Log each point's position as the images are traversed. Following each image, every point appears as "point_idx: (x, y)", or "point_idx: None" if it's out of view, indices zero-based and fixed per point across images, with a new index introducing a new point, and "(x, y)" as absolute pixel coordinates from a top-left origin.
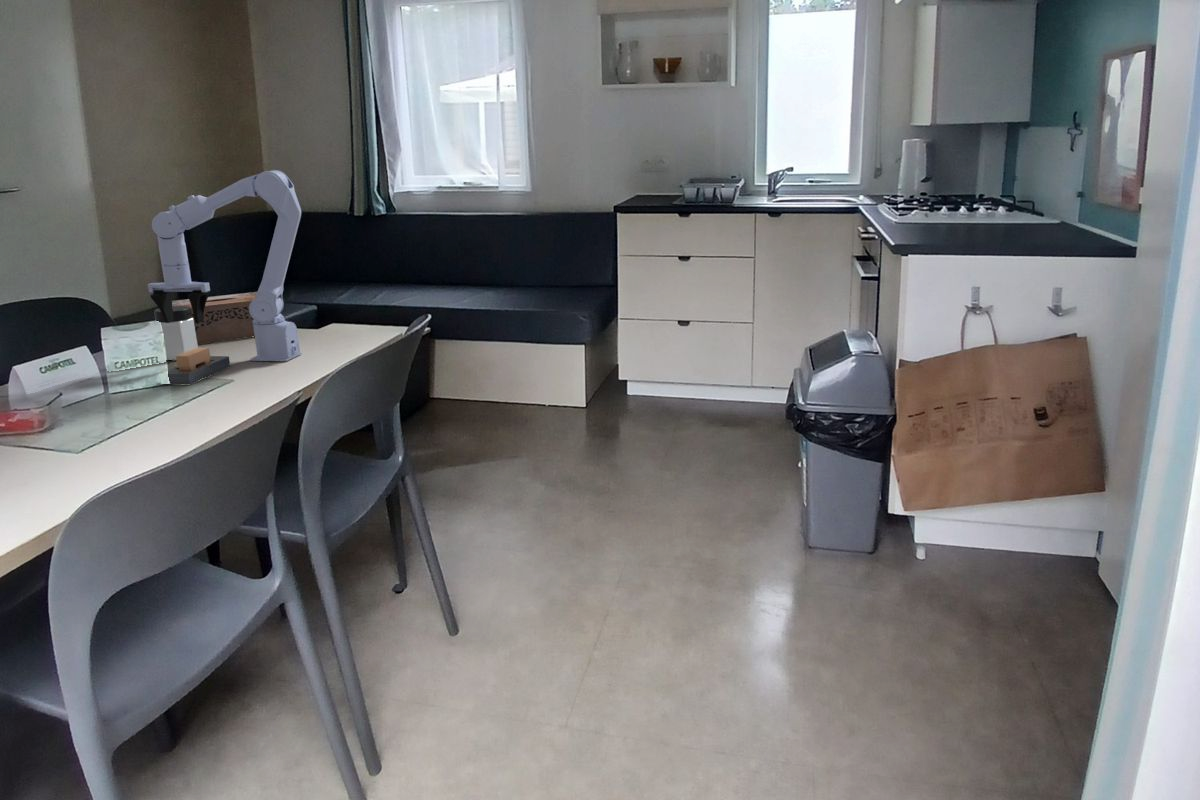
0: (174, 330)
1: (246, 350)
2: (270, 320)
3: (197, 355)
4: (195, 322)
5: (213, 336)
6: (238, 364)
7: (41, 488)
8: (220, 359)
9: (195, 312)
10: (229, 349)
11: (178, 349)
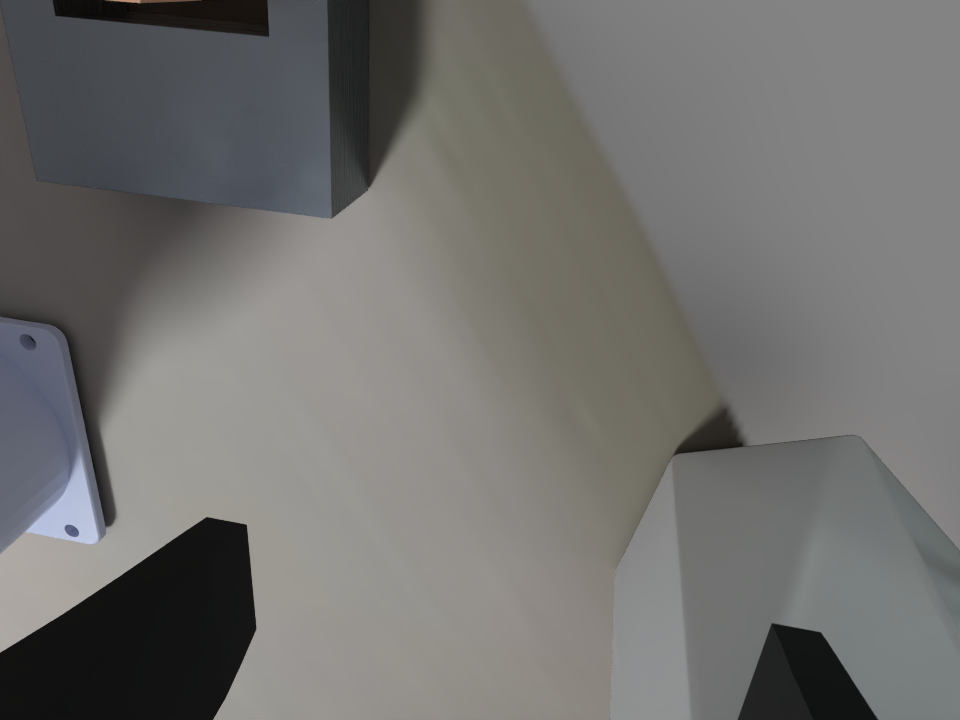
0: None
1: (322, 647)
2: None
3: None
4: (238, 527)
5: None
6: (98, 242)
7: None
8: (20, 37)
9: (65, 635)
10: (465, 694)
11: (729, 506)
